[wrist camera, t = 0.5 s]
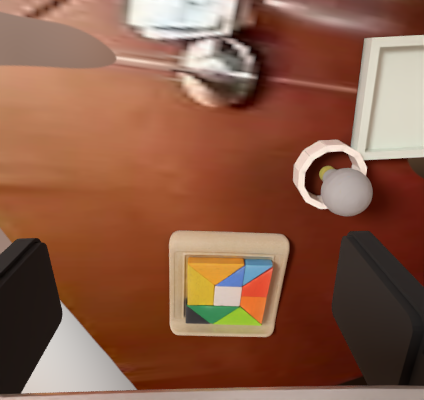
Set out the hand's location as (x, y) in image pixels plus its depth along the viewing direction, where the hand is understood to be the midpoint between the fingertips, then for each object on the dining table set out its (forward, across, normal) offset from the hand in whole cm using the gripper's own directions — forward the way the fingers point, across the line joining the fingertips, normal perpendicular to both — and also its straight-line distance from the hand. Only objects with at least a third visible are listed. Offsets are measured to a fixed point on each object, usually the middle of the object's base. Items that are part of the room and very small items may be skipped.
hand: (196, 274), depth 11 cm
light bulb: (+34, -16, +8) cm, 38 cm away
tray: (+34, -26, -2) cm, 42 cm away
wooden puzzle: (+35, -3, +26) cm, 44 cm away
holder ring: (+34, -16, +8) cm, 38 cm away
